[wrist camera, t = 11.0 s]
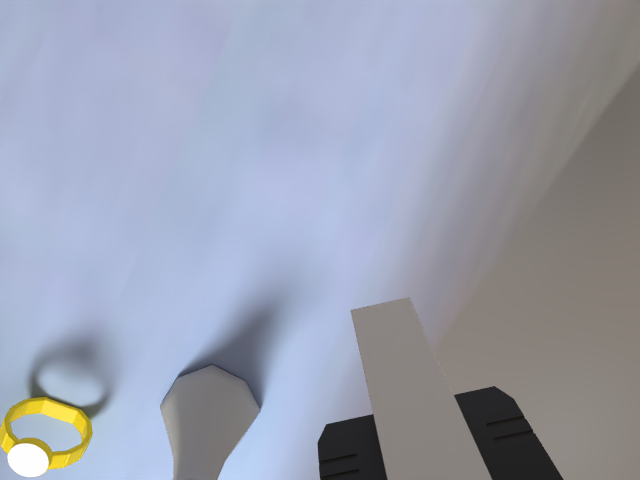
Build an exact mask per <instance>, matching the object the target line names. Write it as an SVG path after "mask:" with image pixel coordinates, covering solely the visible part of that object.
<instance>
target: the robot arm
mask: <svg viewBox="0 0 640 480" xmlns="http://www.w3.org/2000/svg"><path fill="white" fill-rule="evenodd" d="M351 314H352V319H353V323H354V328H355V332H356V337H357V342H358V346H359V351H360V355H361V360H362V365H363V369H364V374H365V378H366V383H367V387H368V392H369V397H370V401H371V406H372V410H373V414H372V415H367V416H363V417H358V418H353V419H349V420H344V421H340V422H335V423H330V424H326V426H325V428H324V430H323V432H322V435H321V437H320V439H319V441H318V456H319V471H320V480H563V478H562V477H561V475H560V473H559V472H558V470H557V469H556V467H555V465H554V464H553V462H552V460H551V459H550V457H549V456H548V454H547V452H546V451H545V449H544V447H543V446H542V444H541V442H540V441H539V439H538V438H537V436H536V434H534V433H533V429H532V428H531V426H530V425H529V423H528V421H527V420H526V419H525V418H524V415H523V413H522V412H521V410H520V409H519V407H518V405H517V404H516V402H515V400H514V399H513V398H512V397H510V396H509V395H507V394H506V393H504V392H503V391H501V390H500V389H498V388H496V387H495V386H493V387H489V388H484V389H480V390H475V391H470V392H466V393H461V394H457V395H453V392H452V391H451V388H450V386H449V384H448V381H447V379H446V377H445V375H444V373H443V370H442V368H441V366H440V364H439V362H438V359H437V357H436V355H435V353H434V351H433V348H432V346H431V344H430V342H429V340H428V337H427V335H426V333H425V331H424V329H423V326H422V324H421V322H420V320H419V318H418V315H417V313H416V311H415V309H414V307H413V304H412V302H411V300H410V298H409V297H408V298H404V299H399V300H395V301H390V302H386V303H381V304H377V305H372V306H368V307H363V308H358V309H354V310H351Z"/></svg>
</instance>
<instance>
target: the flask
mask: <svg viewBox="0 0 640 480" xmlns="http://www.w3.org/2000/svg"><path fill="white" fill-rule="evenodd" d="M160 409H161V413H162V416H163V420H164V423H165V426H166V430H167V433H168V437H169V441H170V446H171V450H172V454H173V458H174V477H173V480H217V479H218V476H219V474H220V472H221V469H222V467H223V465H224V463H225V461H226V459H227V458H228V456H229V455H230V454H231V453H232V451H233V450H234V449H235V447H236V446H237V445H238V444H239V442H240V441H241V439H242V438H243V436H244V435H245V433H246V432H247V430H248V429H249V427H250V426H251V424H252V423H253V421H254V420H255V419H256V417H257V416H258V414H259V413H260V409H259V407H258V405H257V403H256V401H255V399H254V397H253V395H252V393H251V391H250V389H249V387H248V385H247V383H246V381H244V380H242V379H240V378H238V377H236V376H234V375H232V374H230V373H228V372H226V371H224V370H222V369H220V368H218V367H216V366H214V365H210V366H207V367H205V368H202V369H199V370H197V371H194V372H192V373H189V374H186V375H184V376H181V377H178V378H177V379H176V381H175V382H174V384H173V386H172V387H171V389H170V391H169V392H168V394H167V395H166V397H165V399H164V400H163V402H162V404H161V405H160Z"/></svg>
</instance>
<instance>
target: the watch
mask: <svg viewBox="0 0 640 480" xmlns="http://www.w3.org/2000/svg"><path fill="white" fill-rule="evenodd" d="M36 413H42V414H45V415H48V416H51V417H54V418H57V419H60V420H63V421H66V422H69V423H72V424H73V425H74V426H75V427H76V428H77V430H78V431H79V432H80V433H81V438H82V443H81V444H80V445H78V446H76V447H74V448H71V449H69V450H67V451H58V452H52V451H51V449H50V447H49V446H48V445H47V444H46V443H45V442H43V441H41V440H39V439H36V438H23V439H20V440H19V439H18V438H17V437H16V436H15V435H14V434H13V433H12V430H11V425H10V423H11V422H13V421H14V420H16V419H18V418H20V417H22V416H23V415H28V414H36ZM92 434H93V432H92V424H91V421H90V419H89V418H88V417H87V416H86V414H85V413H84V412H83V411H82V410H81V409H78V408H75V407H72V406H69V405H66V404H63V403H60V402H57V401H54V400H51V399H48V397H46V398H45V397H39V398H30V399H27V400H23V401H21V402H20V403H18V404H16V405H14V406H12V408H10V410H9V411H8V413H7V415H6V416H5V418H4V421H3V423H2V426H1V429H0V442H1V447H2V448H3V450H4V451H5V452H6V453H7V454H8V462H9V465H10V466H11V468H12V469H13V470H14V471H15V472H16V473H18V474H20V475H22V476H27V477H36V476H39V475H42V474H43V473H45V472H46V471H47V469H57V468H63V467H66V466H68V465H70V464H72V463H74V462H76V461H78V460H79V459H81V457H82V455H83V454H84V452H85V451H86V449H87V447H88V445H89V442H90V440H91V437H92Z"/></svg>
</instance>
